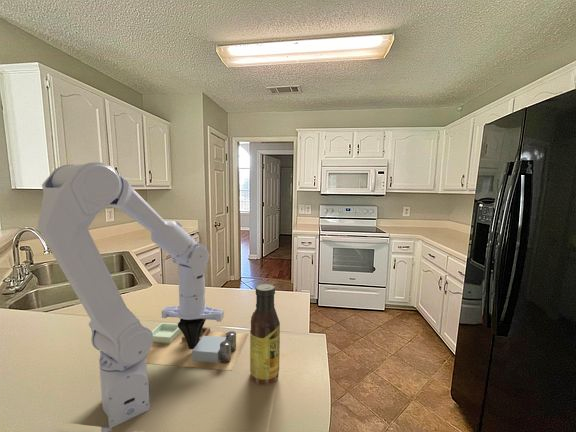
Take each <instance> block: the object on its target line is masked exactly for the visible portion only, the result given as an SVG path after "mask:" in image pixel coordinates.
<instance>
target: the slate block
mask: <svg viewBox="0 0 576 432" xmlns="http://www.w3.org/2000/svg"><path fill="white" fill-rule="evenodd" d="M223 341H226V337H215V336H203V337H202V338H201V340H200V341H199V342H198V344H197V345H196V346H195V348H194V349H193V350H192V359H193V361H199V362H211V363H218V362H219V360H220V343H221V342H223Z"/></svg>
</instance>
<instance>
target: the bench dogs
mask: <svg viewBox="0 0 576 432" xmlns="http://www.w3.org/2000/svg"><path fill="white" fill-rule="evenodd" d="M236 333H237V332H236V331H233V330H232V331H228V332H227V333H226V341H223V342H221V343H220V362H221V363H222V364H227V363H229V362H230V361H231V352H234V351H236Z"/></svg>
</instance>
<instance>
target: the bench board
mask: <svg viewBox="0 0 576 432" xmlns="http://www.w3.org/2000/svg"><path fill="white" fill-rule="evenodd" d="M226 333H228V332H225V331H224V332H223V331H213V330H212V331H211V327H209V326H203V327H202V336H201V337H199V341H200V340H201V338H202V337H203V336H215V337H226ZM248 337H249V333H239V332H236V351H234V352H231V361H230V362H229V363H227V364H222V363H221V362H220V360H219V362H218V363H211V362H199V361H193V359H192V350H193V349H189V347H188V344H187V341H186V338H185V336H184V334H183V333H182V332H181V333H180V334H179V336H178V337H177V338H176V339H175V340H174V341H173V342H172V343H171V344H162V343H153V344H152V347H151V349H150V351H149V352H148V354H147V357H146V360H147V364H148V365H160V366H172V367H183V368H184V367H186V368H198V369H209V370H221V371H233V369H234V368H235V366H236V363H237V361H238V358H239V356H240V355H241V352H242V350H243V348H244V345H245V343H246V341H247V338H248Z"/></svg>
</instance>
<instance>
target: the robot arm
mask: <svg viewBox="0 0 576 432" xmlns="http://www.w3.org/2000/svg"><path fill="white" fill-rule="evenodd" d="M41 187H42V192H43V195H42V200H41V204H40V205H41V206H40V211H39V216H38V221H37V229H38V232H39V233H40V235H41V236H42V238H43V240H44V241H45V244H46V245H47V248H48V249H49V250H50V253H52V255H53V257H54V259H55V261H56V262H57V265H58V266H59V267H60V269H61V271H62V272H63V274H64V276H65V278H66V279H67V281H68V282H69V284H70V286H71V288H72V289H73V292H74V293H75V295H76V297H77V298H78V300H79V302H80V303H81V305H82V307H83V308H84V310H85V312H86V314H87V316H88V317H89V319H90V321H88V327H89V328H90V330H91V338H90V339H91V340H90V342H91V345H92V346H93V348H94V349H96V350H98V351H99V354H100V355H99V377H100V391H101V404H102V407H101V408H102V411H103V412H104V413H105V414H106V416H107V419H108V426H101V427H100V428H101V432H112V431H113V428H114V427H116V426H119V425H120V424H123V423H125V422H127V421H129V420H131V419H133V418H135V417H137V416H139V415H141V414H143V413H145V412H148V411H149V410H151V408H150V407H151V406H150V388H149V378H148V365H147V360H146V357H147V354H148V352H149V351H150V349H151V347H152V344H153V334H152V332H151V331H152V330H151V329H150V328H148V327H145V326H144V325H143V324H142V323H141V321H140V319H139V318H138V317H137V316H136V315H135V314H134V313H133V312H132V311H131V310H130V309H129V308H128V307H127V304H126V303H125V301H124V299H123V297H122V295H121V293H120V291H119V289H118V287H117V285H116V283H115V281H114V279H113V277H112V275H111V272H110V271H109V269H108V267H107V265H106V262H105V261H104V259H103V257H102V255H101V253H100V251H99V249H98V247H97V244H96V243H95V241H94V238H93V237H92V235H91V233H90V231H89V227H90V226H91V224H92V222H93V221H94V220H95V218H96V216H97V215H98V214H99V213H100V212H102V211H103V210H104V209H105V208H106V207H111V208H116V209H118V210H120V211H121V212H123V213H124V214H125V215H127V216H128V217H130V218H131V219H132V220H134V221H135V222H137V224H139V225H140V226H142V227H143V228H144V229H146V230H147V231H149V232H150V233H151V234H150V239H151V242H152V243H153V244H155V245H156V246H158V247H159V248H160V249H162V251H164V252H165V253H167V255H170V256H171V260H172V263H173V264H177V272H178V274H177V275H178V300H179V301H178V302H179V303H178V304H179V305H177V306H165V307H164V308H162V309H161V318H162V319H166V318H178V319H179V322H178V323H177V324H178V328H179V329H180V330H181V331H182V333H183V334H184V336H185V338H186V341H187V344H188V347H189V349H194V348H195V346H196V345H197V344H198V342H199V337H200V333H201V330H202V327H204V325H205V322H206V321H207V320H209V321H216V322H218V323H221V322H222V321H223V319H224V318H225V317H224V316H225V315H224V313H225V312H224V311H225V310H224V309H218V308H213V307H210V306H207V305H206V287H205V286H206V284H205V283H206V281H205V279H206V278H205V274H206V271H207V264H208V262H209V261H210V257H211V254H210V253H209V251H208V249H207V247H206V245H204V243H203V244H202V243H200V242H196V240H195V237H194V236H193V235H189V233H187V231H186V230H184V229H183V228H182V226H183V224H182V223H181V222H180V221H174V220H171V219H170V220H165V219H164V218H163V217H162V216H160V214H158V212H157V211H156V210H155V209H154V208H153V207H152V206H151V205H150V204H149V203H148V202H147V201H146V200H145V199H144V198H143V197H142V196H141V194H139V193H138V192H137V191H136V190H135V189H134V187H132V185H131V183H130V182H129V180H128V179H126V178H125V177H124V176H123V175H120V174H119V173H118V171H117V170H116V169H115V168H113V167H112V166H110V165H109V164H107V163H104V162H99V161H93V162H87V163H82V164H73V163H72V164H64V165H61V166H59V167H56V168H55V169H54V170H53V171H52V172H51V173H50V174H49V175H48V176H47V178H46V179H45V180H44V182H43V183H42V184H41Z"/></svg>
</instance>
